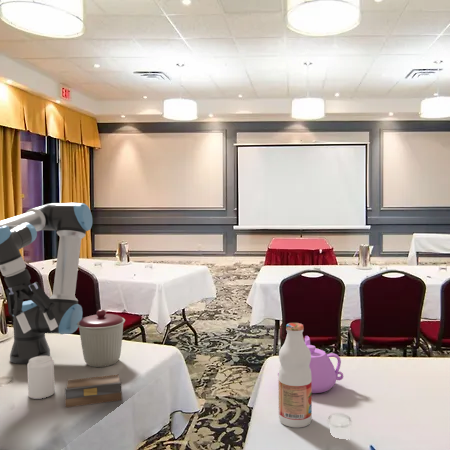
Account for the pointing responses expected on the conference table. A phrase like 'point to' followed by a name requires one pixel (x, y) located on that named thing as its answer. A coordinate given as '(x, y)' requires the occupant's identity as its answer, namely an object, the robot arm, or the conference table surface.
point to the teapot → (322, 369)
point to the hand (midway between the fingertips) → (40, 330)
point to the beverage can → (40, 377)
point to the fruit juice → (295, 379)
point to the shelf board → (93, 390)
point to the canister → (101, 338)
